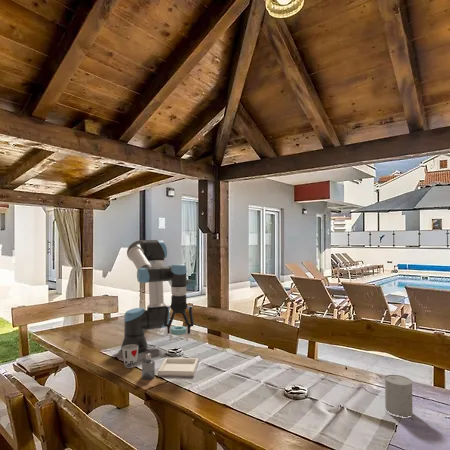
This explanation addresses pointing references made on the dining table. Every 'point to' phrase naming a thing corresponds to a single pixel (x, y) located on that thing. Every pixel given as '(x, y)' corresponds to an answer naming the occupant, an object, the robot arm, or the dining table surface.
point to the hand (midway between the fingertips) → (179, 340)
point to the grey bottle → (148, 368)
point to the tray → (178, 367)
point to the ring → (178, 330)
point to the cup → (130, 355)
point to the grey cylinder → (398, 395)
